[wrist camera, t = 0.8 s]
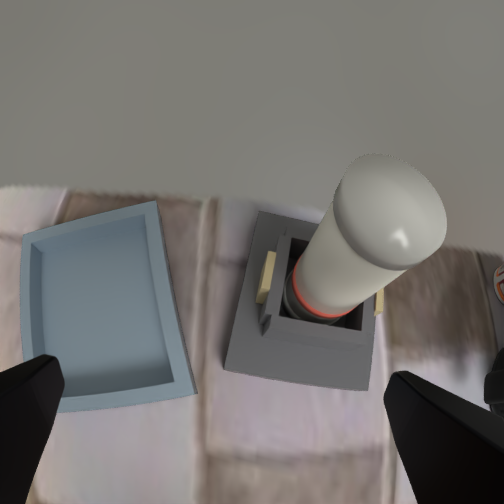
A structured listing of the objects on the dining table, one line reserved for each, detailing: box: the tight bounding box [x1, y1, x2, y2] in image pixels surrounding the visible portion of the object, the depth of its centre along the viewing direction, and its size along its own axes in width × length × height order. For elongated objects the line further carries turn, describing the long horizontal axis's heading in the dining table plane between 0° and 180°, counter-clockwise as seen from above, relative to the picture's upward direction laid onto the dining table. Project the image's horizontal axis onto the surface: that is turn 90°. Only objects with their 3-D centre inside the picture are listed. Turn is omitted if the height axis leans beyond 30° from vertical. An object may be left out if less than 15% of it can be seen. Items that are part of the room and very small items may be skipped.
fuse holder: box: [224, 211, 384, 391], centre depth 20 cm, size 12×10×5 cm
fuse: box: [281, 154, 447, 326], centre depth 16 cm, size 5×5×12 cm
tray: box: [20, 200, 198, 413], centre depth 19 cm, size 14×12×2 cm
